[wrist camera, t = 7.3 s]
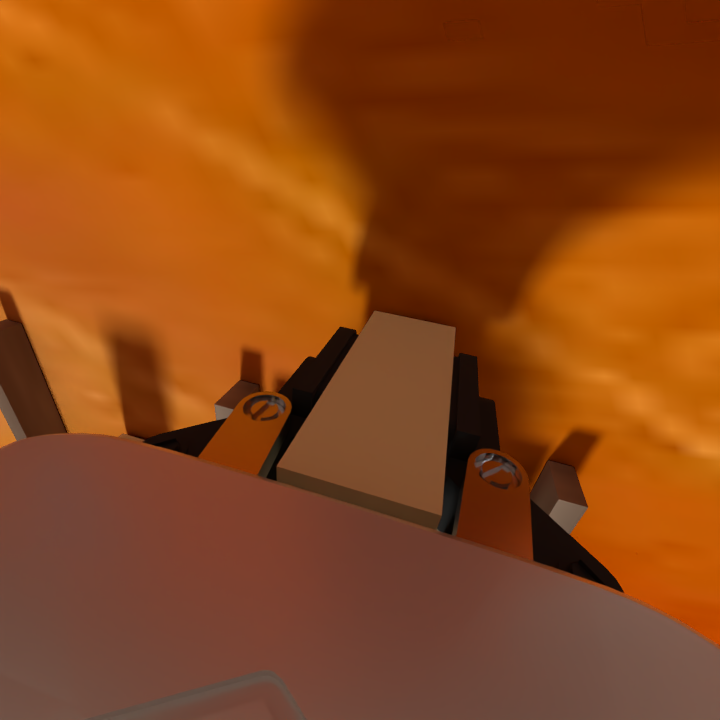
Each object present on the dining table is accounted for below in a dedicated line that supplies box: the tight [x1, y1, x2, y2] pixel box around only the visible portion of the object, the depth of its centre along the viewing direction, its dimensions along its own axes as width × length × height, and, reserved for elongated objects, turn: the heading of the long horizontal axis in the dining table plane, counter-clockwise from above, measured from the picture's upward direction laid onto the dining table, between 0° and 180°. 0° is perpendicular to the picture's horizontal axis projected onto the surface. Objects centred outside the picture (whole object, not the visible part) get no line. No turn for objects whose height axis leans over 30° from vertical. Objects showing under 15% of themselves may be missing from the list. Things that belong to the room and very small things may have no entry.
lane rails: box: [0, 319, 588, 534], centre depth 22 cm, size 29×25×2 cm
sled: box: [277, 311, 456, 531], centre depth 14 cm, size 12×19×8 cm, turn 173°
